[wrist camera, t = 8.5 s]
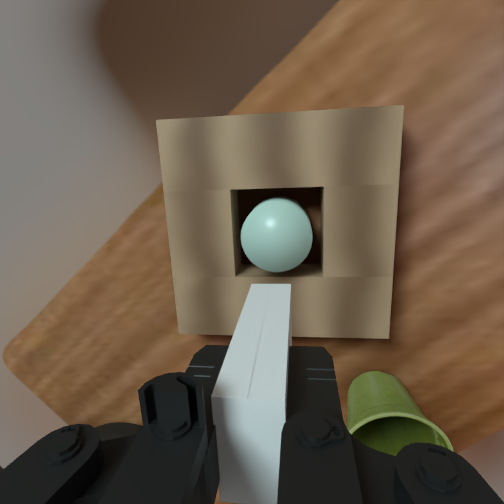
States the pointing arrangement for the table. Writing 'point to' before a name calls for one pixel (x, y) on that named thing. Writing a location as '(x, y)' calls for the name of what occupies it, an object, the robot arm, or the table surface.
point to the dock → (285, 176)
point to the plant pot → (388, 415)
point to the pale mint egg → (277, 234)
